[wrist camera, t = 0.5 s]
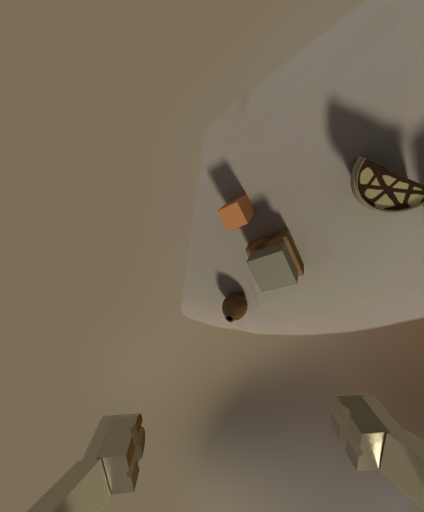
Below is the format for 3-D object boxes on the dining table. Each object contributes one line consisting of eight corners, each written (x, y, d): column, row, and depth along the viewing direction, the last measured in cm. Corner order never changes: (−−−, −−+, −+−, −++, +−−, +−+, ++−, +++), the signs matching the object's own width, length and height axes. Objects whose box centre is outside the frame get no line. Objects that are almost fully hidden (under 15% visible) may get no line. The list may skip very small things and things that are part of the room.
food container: (330, 183, 45) (334, 193, 37) (351, 152, 42) (361, 156, 33) (388, 212, 44) (407, 229, 35) (416, 182, 40) (443, 194, 32)
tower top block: (284, 241, 49) (282, 250, 45) (298, 271, 51) (297, 283, 47) (251, 252, 53) (246, 262, 49) (265, 280, 55) (261, 291, 51)
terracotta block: (246, 193, 52) (237, 201, 45) (255, 212, 53) (247, 223, 47) (228, 202, 54) (216, 211, 48) (237, 220, 56) (227, 232, 49)
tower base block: (288, 228, 52) (286, 236, 48) (304, 264, 55) (303, 274, 51) (249, 242, 57) (245, 250, 53) (265, 274, 60) (262, 284, 56)
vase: (222, 295, 68) (212, 314, 61) (238, 284, 64) (229, 303, 57) (237, 311, 69) (229, 332, 61) (254, 301, 65) (247, 322, 57)
